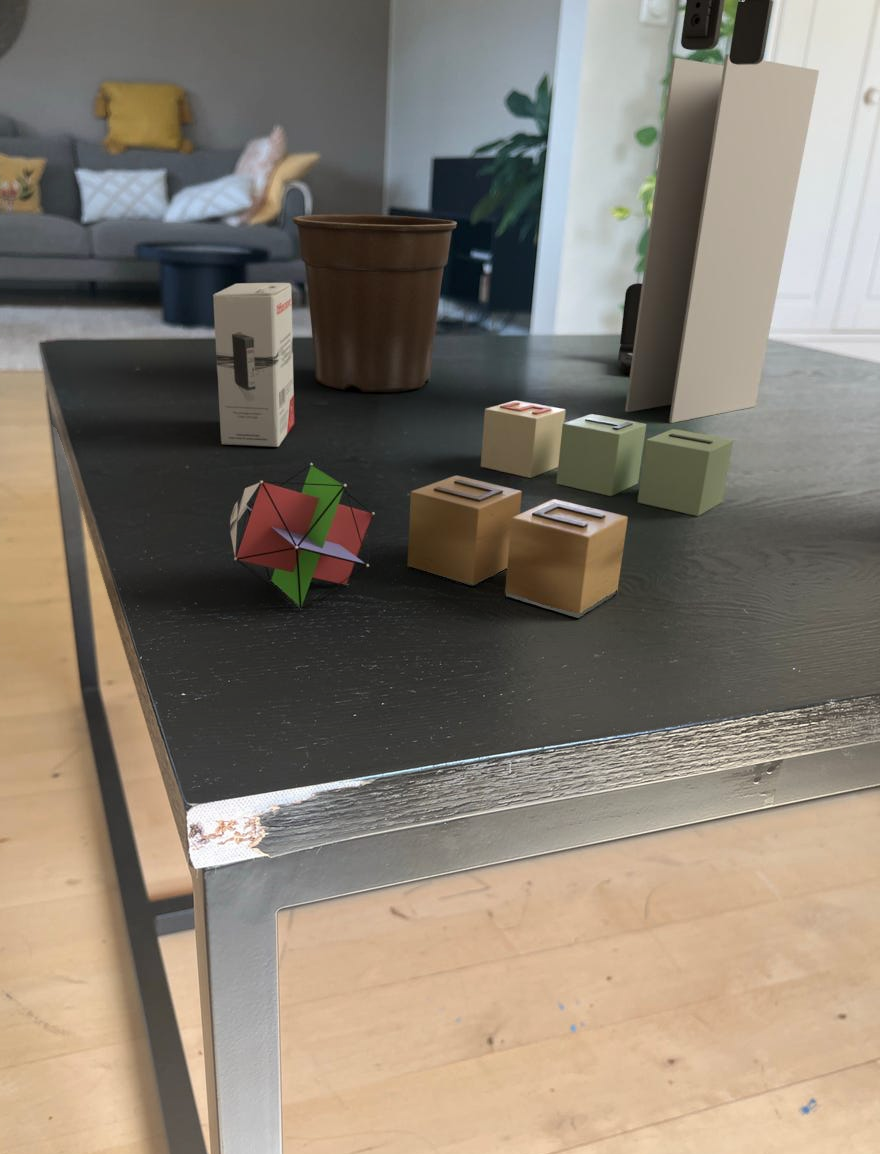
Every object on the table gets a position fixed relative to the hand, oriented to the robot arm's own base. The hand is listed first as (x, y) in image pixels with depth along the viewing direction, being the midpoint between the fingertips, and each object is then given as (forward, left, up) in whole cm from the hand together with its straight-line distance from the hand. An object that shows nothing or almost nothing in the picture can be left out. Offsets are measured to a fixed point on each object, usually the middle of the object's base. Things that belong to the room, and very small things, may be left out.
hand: (723, 57), depth 65 cm
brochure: (-10, -23, -28) cm, 38 cm away
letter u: (+13, +26, -28) cm, 40 cm away
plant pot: (+22, -32, -28) cm, 48 cm away
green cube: (+6, +4, -28) cm, 29 cm away
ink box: (+32, -8, -28) cm, 43 cm away
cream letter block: (+11, 0, -28) cm, 30 cm away
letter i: (+1, +8, -28) cm, 29 cm away
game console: (-16, -45, -28) cm, 56 cm away
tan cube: (+18, +22, -28) cm, 40 cm away
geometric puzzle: (+27, +26, -28) cm, 47 cm away
